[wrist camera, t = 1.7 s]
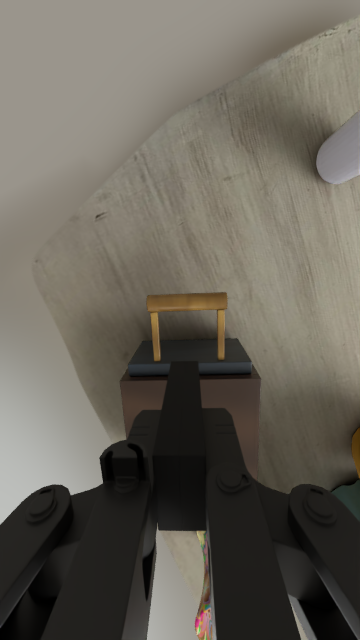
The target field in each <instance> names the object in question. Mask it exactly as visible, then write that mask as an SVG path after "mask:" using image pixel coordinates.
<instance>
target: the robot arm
mask: <svg viewBox="0 0 360 640" xmlns="http://www.w3.org/2000/svg"><path fill="white" fill-rule="evenodd" d="M100 464H101V471H102V478H103V484H101V485H99V486H98V487H96V488H93V489H91V490H88V491H84V492H81V493H78V494H74V495H70V493H69V490H68V488H66V487H64V486H63V485H50V486H46V487H43V488H41V489H39V490H37V491H36V492H34V493H32V494H31V495H30V496H28V497H27V498H26V499H25V500H24V501H23V502H21V504H20V505H19V506H18V507H17V508H16V509H15V510H14V511H13V512H12V513H11V514H10V515H9V516H8V517H7V518H6V519H5V521H4V522H3V523H2V524H1V525H0V640H147V632H148V622H149V614H150V606H151V597H152V587H153V579H154V571H155V562H156V554H157V553H156V530H157V523H158V530H165V531H207V547H208V574H209V587H210V604H211V622H212V640H301V638H300V634H299V631H298V627H297V624H296V621H295V617H294V614H293V610H292V607H291V604H292V606H293V609H294V611H295V613H296V615H297V617H298V619H299V621H300V623H301V626H302V628H303V630H304V632H305V634H306V636H307V638H308V640H360V521H359V520H358V519H357V518H356V517H355V516H354V515H353V513H352V512H351V511H350V510H349V509H348V508H347V507H346V506H345V504H344V503H343V502H342V501H340V500H339V499H338V498H337V497H336V496H335V495H334V494H332V493H331V492H329V491H327V490H325V489H324V488H322V487H319V486H315V485H311V484H300V485H298V486H296V487H294V488H293V489H292V491H291V492H290V494H286V493H282V492H279V491H276V490H273V489H270V488H268V487H265V486H263V485H262V484H260V483H259V482H257V481H256V480H255V479H254V478H253V477H252V475H251V474H250V473H249V472H248V470H247V468H246V465H245V461H244V458H243V454H242V450H241V447H240V443H239V439H238V436H237V432H236V428H235V426H234V421H233V418H232V415H231V414H230V413H229V412H228V411H227V410H226V408H202V401H201V389H200V376H199V364H198V361H171V364H170V369H169V374H168V379H167V384H166V389H165V394H164V399H163V404H162V409H161V410H142V411H141V412H140V413H139V414H138V415H137V416H136V417H135V419H134V421H133V424H132V428H131V430H130V432H129V436H128V438H127V440H123V441H119V442H117V443H115V444H112V445H111V446H110V447H108V448H107V449H106V450H104V452H103V453H102V455H101V456H100ZM290 602H291V604H290Z"/></svg>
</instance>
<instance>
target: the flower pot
mask: <svg viewBox="0 0 360 640" xmlns="http://www.w3.org/2000/svg"><path fill="white" fill-rule="evenodd" d="M332 494H334V495H335V496H336V497H337V498H338V499H339V500H340V501H342V502H343V503H344V504H345V506H346V507H347V508H348V509H349V510H350V511H351V512H352V513H353V515H354V516H355V517H356V518H357V519H358V520H359V521H360V480H357V481H356V483H355V484H353V485H351V486H345V485H342V486H340V487H338V488H337V489H335V490H334V491H333V492H332Z"/></svg>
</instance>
